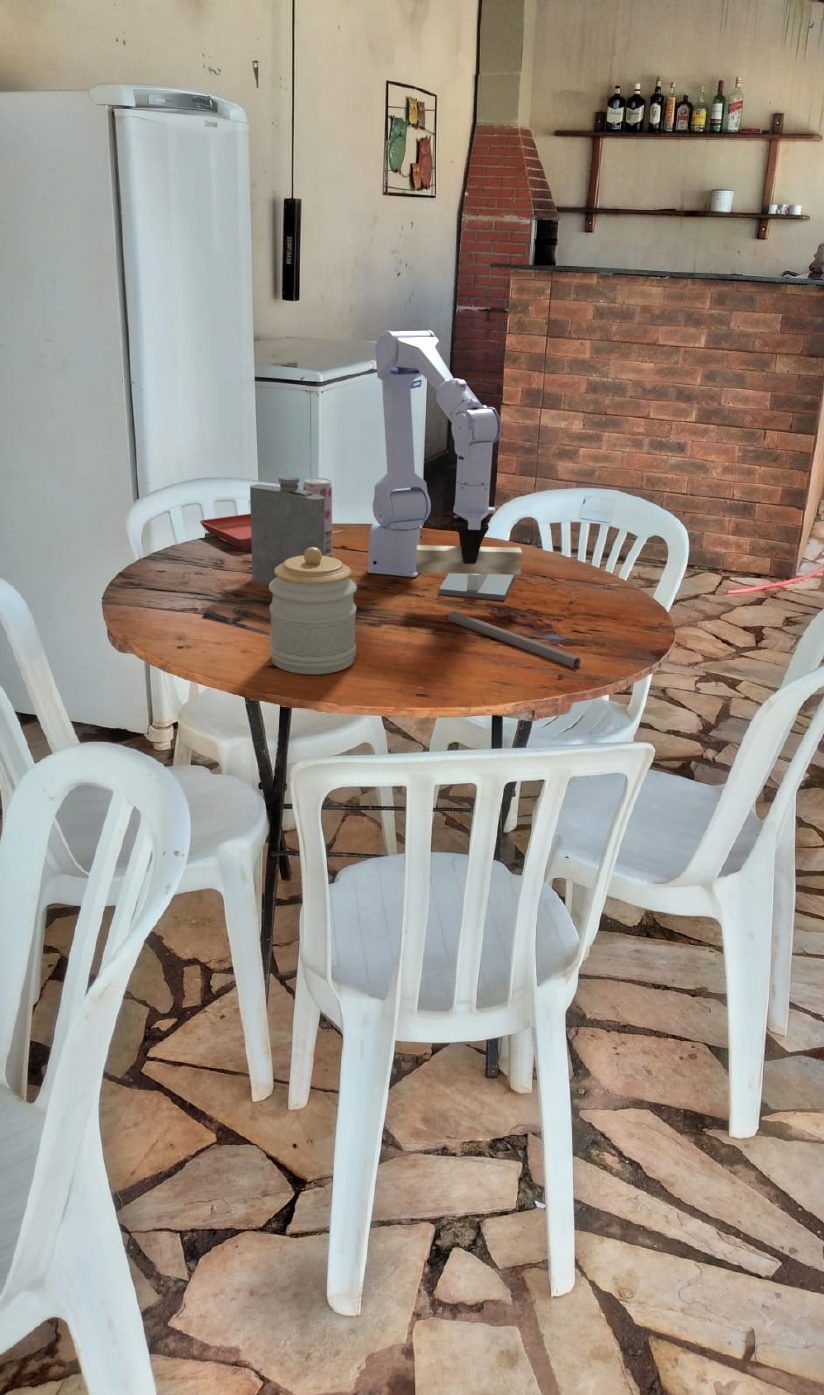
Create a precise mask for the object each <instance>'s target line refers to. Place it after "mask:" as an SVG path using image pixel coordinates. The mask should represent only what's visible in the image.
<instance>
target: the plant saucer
mask: <svg viewBox="0 0 824 1395" xmlns="http://www.w3.org/2000/svg"><path fill="white" fill-rule="evenodd" d="M199 523H200V524H201V526H202V527H203V528H204V530H206V531H207V532H208V533H209V534H210V536H213V537H214V538H215V537H216V538H218V539H219V538H222V539H224V540H226V541H227V542H226V541H225V542H226V543H228V542H229V543H228V544H230V543H231V544H230V545H232V544H233V545H232V546H234V545H235V546H234V547H236V546H237V547H236V548H238V547H239V549H240V548H241V549H240V550H243V549H247V550H251V549H250V548H252V543H251V513H245V514H237V515H232V516H231V515H230V516H224V517H217V518H208V519H201V520H199ZM236 533H237V534H236ZM231 534H234V535H231ZM224 540H223V541H224Z"/></svg>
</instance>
